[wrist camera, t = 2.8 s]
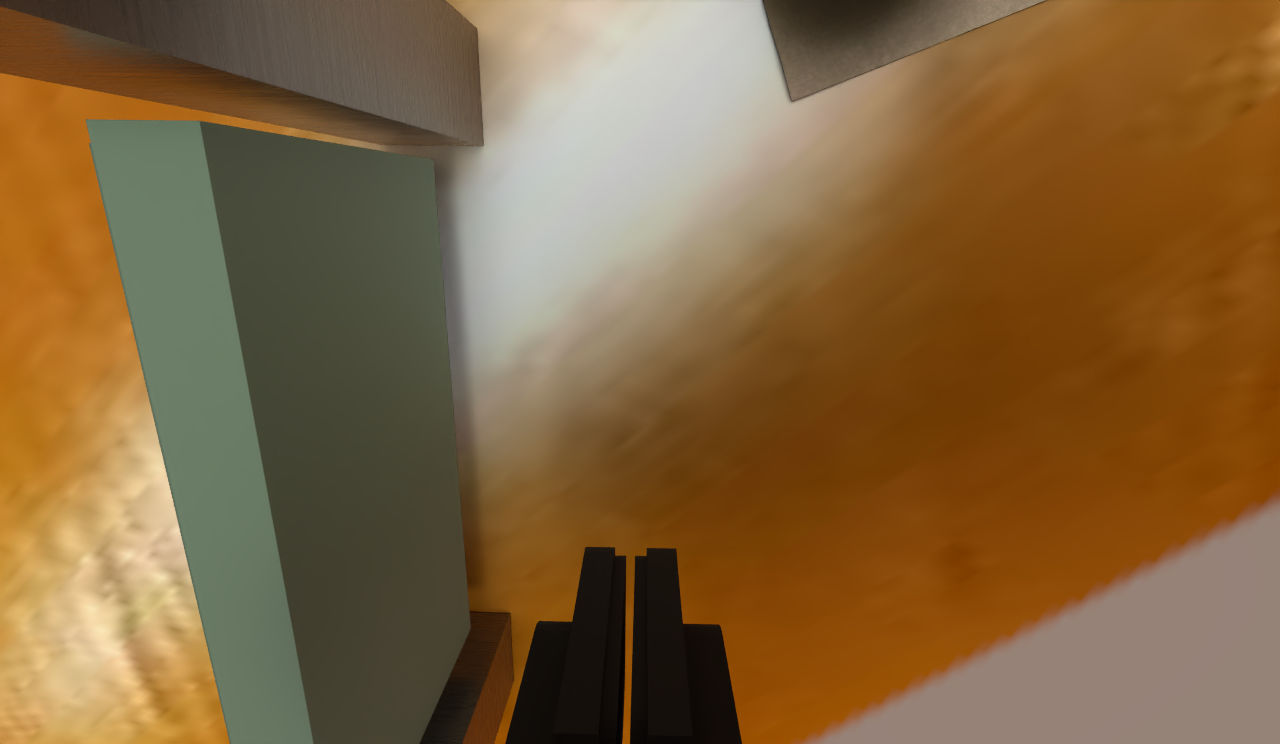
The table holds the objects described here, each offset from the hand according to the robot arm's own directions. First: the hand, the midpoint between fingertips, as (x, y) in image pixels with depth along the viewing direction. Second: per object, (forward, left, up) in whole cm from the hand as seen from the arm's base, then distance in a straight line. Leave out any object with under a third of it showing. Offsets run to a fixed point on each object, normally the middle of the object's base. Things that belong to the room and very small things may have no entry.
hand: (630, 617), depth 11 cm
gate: (+7, -1, -7) cm, 9 cm away
